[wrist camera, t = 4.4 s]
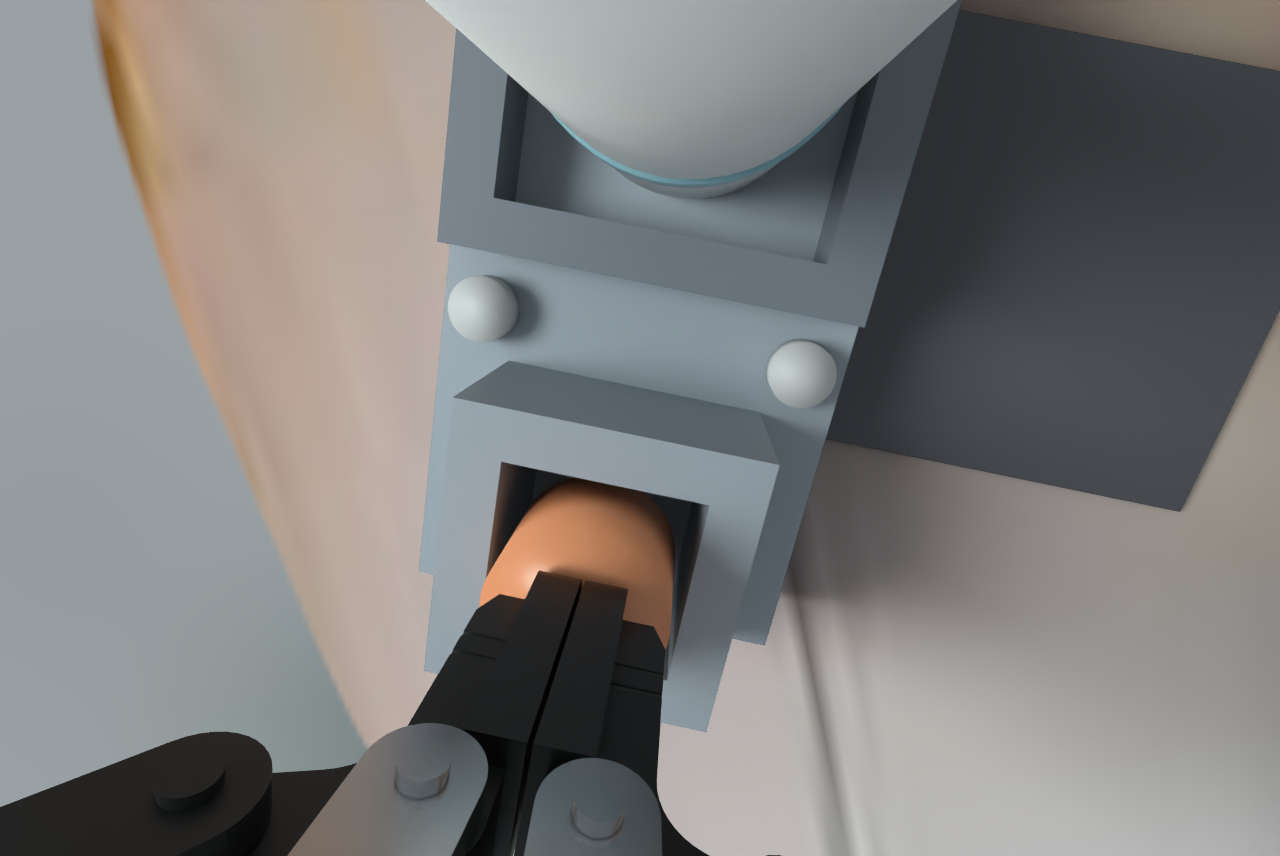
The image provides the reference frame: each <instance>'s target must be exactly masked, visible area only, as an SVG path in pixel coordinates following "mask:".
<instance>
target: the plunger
mask: <svg viewBox="0 0 1280 856" xmlns="http://www.w3.org/2000/svg"><path fill="white" fill-rule="evenodd" d="M674 561H675V544H674V537H673V534H672V530H671V527H670V525H669V523H668V521H667V519H666V517H665V515H664V514H663V512H662V511H661V509H660V508H659V507H658V506H657V504H656V503H655V502H654V501H653V500H652V499H651V498H650V497H649V496H647V495H646V494H645V493H643V492H642V491H638V490H634V489H629V488H624V487H619V486H615V485H610V484H605V483H600V482H595V481H591V480H586V479H581V478H576V477H575V478H570V479H567V480H564V481H562V482H559V483H557V484H555V485H553V486H551V487H550V488H548V489H547V490H546V491H544V492H543V493H542V494H541V495H539V496H538V497H537V498H536V499H535V501H534V502H533V503H532V504H531V506H530V507H529V509H528V510H527V512H526V513H525V515H524V517H523V518H522V520H521V522H520V523H519V525H518V526H517V528H516V530H515V531H514V533H513V535H512V536H511V538H510V540H509V541H508V543H507V544H506V546H505V548H504V549H503V551H502V553H501V554H500V556H499V557H498V559H497V561H496V562H495V564H494V566H493V567H492V569H491V571H490V572H489V574H488V576H487V578H486V580H485V582H484V585H483V588H482V591H481V596H480V602H479V607H481V606H482V605H484V604H485V603H487V602H488V601H490V600H491V599H493V598H494V597H496V596H497V595H499V594H503V595H507V596H512V597H517V598H521V599H525V598H526V596H527V594H528V592H529V590H530V587H531V585H532V583H533V581H534V579H535V577H536V575H537V573H538V571H539V570H540V571H545V572H550V573H554V574H559V575H564V576H569V577H573V578H578V579H582V587H581V592H582V589H583V586H584V583H585V580H588V581H593V582H598V583H602V584H607V585H612V586H617V587H621V588H626V589H628V593H627V598H626V604H625V609H624V614H623V620H626V621H630V622H635V623H640V624H645V625H649V626H654V628H655V630H656V632H657V634H658V636H659V638H660V640H661V642H662V644H663V646H664V648H665V651H666V647H667V644H668V641H669V636H670V629H671V612H672V595H673V578H674ZM580 595H581V593H580Z"/></svg>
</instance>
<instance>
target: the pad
mask: <svg viewBox="0 0 1280 856" xmlns="http://www.w3.org/2000/svg"><path fill="white" fill-rule="evenodd" d="M1279 310H1280V71H1277V70H1272V69H1266V68H1261V67H1256V66H1251V65H1245V64H1240V63H1235V62H1230V61H1224V60H1219V59H1214V58H1208V57H1203V56H1198V55H1193V54H1187V53H1182V52H1177V51H1172V50H1166V49H1161V48H1156V47H1150V46H1145V45H1140V44H1135V43H1129V42H1124V41H1119V40H1114V39H1108V38H1103V37H1098V36H1092V35H1087V34H1082V33H1077V32H1071V31H1066V30H1061V29H1056V28H1050V27H1045V26H1040V25H1034V24H1029V23H1024V22H1019V21H1013V20H1008V19H1003V18H997V17H992V16H987V15H982V14H976V13H971V12H966V11H961V10H959V12H958V16H957V19H956V22H955V26H954V29H953V32H952V36H951V39H950V42H949V46H948V49H947V52H946V56H945V59H944V63H943V66H942V69H941V73H940V76H939V79H938V83H937V86H936V89H935V93H934V96H933V100H932V103H931V106H930V110H929V113H928V116H927V120H926V123H925V126H924V130H923V133H922V137H921V140H920V143H919V147H918V150H917V153H916V157H915V160H914V163H913V167H912V170H911V174H910V177H909V180H908V184H907V187H906V190H905V194H904V197H903V200H902V204H901V207H900V210H899V214H898V217H897V221H896V224H895V227H894V231H893V234H892V237H891V241H890V244H889V247H888V251H887V254H886V258H885V261H884V264H883V268H882V271H881V274H880V278H879V281H878V284H877V288H876V291H875V295H874V298H873V301H872V305H871V308H870V311H869V315H868V318H867V321H866V325H865V328H863V327H858V331H857V334H856V337H855V341H854V344H853V348H852V351H851V354H850V358H849V361H848V365H847V368H846V371H845V375H844V378H843V382H842V385H841V388H840V392H839V395H838V399H837V402H836V405H835V409H834V412H833V416H832V419H831V422H830V426H829V429H828V432H827V436H826V439H829V440H834V441H839V442H844V443H849V444H854V445H859V446H863V447H868V448H873V449H878V450H883V451H888V452H892V453H897V454H902V455H907V456H912V457H917V458H922V459H926V460H931V461H936V462H941V463H946V464H951V465H956V466H960V467H965V468H970V469H975V470H980V471H985V472H989V473H994V474H999V475H1004V476H1009V477H1014V478H1019V479H1023V480H1028V481H1033V482H1038V483H1043V484H1048V485H1053V486H1057V487H1062V488H1067V489H1072V490H1077V491H1082V492H1086V493H1091V494H1096V495H1101V496H1106V497H1111V498H1116V499H1120V500H1125V501H1130V502H1135V503H1140V504H1145V505H1150V506H1154V507H1159V508H1164V509H1169V510H1174V511H1179V512H1180V511H1181V509H1182V507H1183V505H1184V503H1185V501H1186V499H1187V497H1188V495H1189V493H1190V491H1191V489H1192V487H1193V485H1194V483H1195V481H1196V479H1197V477H1198V475H1199V473H1200V470H1201V468H1202V466H1203V464H1204V462H1205V460H1206V458H1207V456H1208V454H1209V452H1210V450H1211V448H1212V446H1213V444H1214V442H1215V440H1216V438H1217V436H1218V434H1219V432H1220V430H1221V428H1222V426H1223V424H1224V422H1225V420H1226V418H1227V415H1228V413H1229V411H1230V409H1231V407H1232V405H1233V403H1234V401H1235V399H1236V397H1237V395H1238V393H1239V391H1240V389H1241V387H1242V385H1243V383H1244V381H1245V379H1246V377H1247V375H1248V373H1249V371H1250V369H1251V367H1252V365H1253V363H1254V361H1255V358H1256V356H1257V354H1258V352H1259V350H1260V348H1261V346H1262V344H1263V342H1264V340H1265V338H1266V336H1267V334H1268V332H1269V330H1270V328H1271V326H1272V324H1273V322H1274V320H1275V318H1276V316H1277V314H1278V312H1279Z"/></svg>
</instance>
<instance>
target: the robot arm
mask: <svg viewBox="0 0 1280 856" xmlns="http://www.w3.org/2000/svg"><path fill="white" fill-rule="evenodd" d="M581 587H582V579H578V578H573V577H569V576H564V575H559V574H554V573H550V572H545V571H540V570H539V571H538V573H537V575H536V577H535V579H534V581H533V583H532V585H531V587H530V590H529V592H528V594H527V596H526V598H525V599H521V598H517V597H512V596H507V595H503V594H499V595H497V596H496V597H494V598H493V599H491V600H490V601H488V602H487V603H485V604H484V605H482V606H481V607H479V608H478V609H476V611H475V612H474V614H473V616H472V618H471V619H470V621H469V623H468V624H467V626H466V628H465V629H464V632H463V635H461V636H460V638H459V640H458V641H457V643H456V645H455V646H454V648H453V651H452V654H450V655H449V657H448V658H447V660H446V662H445V663H444V665H443V667H442V669H441V670H440V672H439V674H438V675H437V677H436V679H435V680H434V682H433V684H432V685H431V687H430V689H429V691H428V692H427V694H426V696H425V697H424V699H423V701H422V702H421V704H420V706H419V708H418V709H417V711H416V713H415V714H414V716H413V718H412V719H411V721H410V723H409V725H408V726H406V727H403V728H400V729H397V730H395V731H393V732H391V733H388V734H387V735H385V736H384V737H382V738H380V739H379V740H378V741H376V742H375V743H374V744H373V745H372V746H370V748H369V749H368V750H367V751H366V752H365V753H364V754H363V756H362V757H361V759H360V760H359V761H358V763H355V764H352V765H349V766H344V767H340V768H335V769H326V770H313V771H297V772H282V773H272V760H271V758H270V755H269V753H268V751H267V750H266V748H265V747H264V746H263V745H262V744H261V743H259V742H258V741H257V740H255V739H253V738H251V737H249V736H246V735H242V734H238V733H230V732H209V733H201V734H196V735H192V736H187V737H184V738H181V739H178V740H175V741H172V742H169V743H166V744H164V745H161V746H159V747H156V748H154V749H151V750H148V751H146V752H143V753H140V754H138V755H135V756H133V757H130V758H127V759H125V760H122V761H120V762H117V763H114V764H112V765H109V766H107V767H104V768H101V769H99V770H96V771H93V772H91V773H88V774H86V775H83V776H80V777H78V778H75V779H73V780H70V781H68V782H65V783H62V784H60V785H57V786H55V787H52V788H49V789H46V790H44V791H41V792H39V793H36V794H33V795H31V796H28V797H26V798H23V799H21V800H18V801H15V802H13V803H10V804H7V805H5V806H2V807H0V856H513V854H514V856H709V855H707V854H705V853H704V852H702V851H701V850H699V849H697V848H696V847H694V846H693V845H692V844H691V843H689V842H688V841H687V840H686V839H685V838H683V837H682V835H681V834H680V833H679V832H678V831H677V830H676V829H675V828H674V827H673V825H672V824H671V822H670V821H669V820H668V818H667V816H666V814H665V813H664V811H663V809H662V806H661V803H660V801H659V797H658V792H657V766H658V751H659V736H660V721H661V707H662V692H663V674H664V662H665V648H664V646H663V644H662V642H661V640H660V638H659V636H658V634H657V632H656V630H655V628H654V626H649V625H645V624H640V623H635V622H630V621H626V620H623V614H624V609H625V604H626V598H627V593H628V589H626V588H621V587H617V586H612V585H607V584H602V583H598V582H593V581H588V580H585V583H584V586H583V589H582V592H581ZM580 593H581V595H580ZM514 851H515V853H514ZM768 856H780V855H768Z"/></svg>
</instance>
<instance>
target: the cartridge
mask: <svg viewBox="0 0 1280 856" xmlns="http://www.w3.org/2000/svg"><path fill="white" fill-rule="evenodd" d="M425 1H427V2H428V3H429V4H430V5H431V6H432V7H433V8H434V9H436V10H437V11H438V12H439V13H440V14H441V15H442V16H443V17H445V18H446V19H447V20H448V21H449V22H450V23H451V24H452V25H454V26H455V27H456V28H457V29H458V30H459V31H460V32H461V33H463V34H464V35H465V36H466V37H467V38H468V39H469V40H470V41H471V42H473V43H474V44H475V45H476V46H477V47H478V48H479V49H480V50H482V51H483V52H484V53H485V54H486V55H487V56H488V57H489V58H491V59H492V60H493V61H494V62H495V63H496V64H497V65H498V66H500V67H501V68H502V69H503V70H504V71H505V72H506V73H507V74H509V75H510V76H511V77H512V78H513V79H514V80H515V81H516V82H517V83H519V84H520V85H521V86H522V87H523V88H524V89H525V90H526V91H528V92H529V93H530V94H531V95H532V96H533V97H534V98H535V99H537V100H538V101H539V102H540V103H541V104H542V105H543V106H544V107H546V108H547V109H548V110H549V111H550V112H551V113H552V115H553V116H554V117H555V119H556V120H557V121H558V122H559V123H560V124H561V125H562V126H563V127H564V128H565V129H566V130H567V131H568V132H569V133H570V134H571V135H572V136H573V137H574V138H575V139H576V140H577V141H578V142H579V143H581V144H582V145H583V146H584V147H586V148H587V149H588V150H589V151H591V152H592V153H593V154H594V155H596V156H597V157H598V158H599V159H601V160H602V161H604V162H606V163H607V164H609V165H611V166H612V167H613V168H614V169H615V170H616V171H618V172H619V173H620V174H621V175H623V176H624V177H625V178H626V179H628V180H630V181H631V182H633V183H635V184H636V185H638V186H640V187H642V188H644V189H647V190H649V191H651V192H654V193H657V194H661V195H664V196H668V197H674V198H681V199H703V198H710V197H716V196H720V195H724V194H727V193H730V192H733V191H736V190H738V189H740V188H742V187H745V186H747V185H749V184H751V183H752V182H754V181H755V180H757V179H759V178H760V177H762V176H763V175H765V174H766V173H767V172H768V171H770V170H771V169H772V168H773V167H775V166H776V165H777V164H778V163H779V162H780V161H782V160H783V159H785V158H787V157H788V156H790V155H791V154H792V153H793V152H795V151H796V150H797V149H798V148H800V147H801V146H802V145H803V144H805V143H806V142H807V141H808V140H810V139H811V138H812V137H813V136H814V135H815V134H816V133H818V132H819V131H820V130H821V129H822V128H823V127H824V126H825V125H826V124H827V123H828V122H829V120H830V119H831V118H832V117H833V116H834V115H835V114H836V113H837V112H838V111H839V110H840V109H841V107H842V106H843V105H844V103H845V102H846V101H847V100H848V99H849V98H851V97H852V96H853V95H854V94H855V93H856V92H857V91H858V90H859V89H860V88H861V87H863V86H864V85H865V84H866V83H867V82H868V81H869V80H870V79H871V78H872V77H874V76H875V75H876V74H877V73H878V72H879V71H880V70H881V69H882V68H883V67H885V66H886V65H887V64H888V63H889V62H890V61H891V60H892V59H893V58H894V57H896V56H897V55H898V54H899V53H900V52H901V51H902V50H903V49H904V48H905V47H907V46H908V45H909V44H910V43H911V42H912V41H913V40H914V39H915V38H916V37H918V36H919V35H920V34H921V33H922V32H923V31H924V30H925V29H926V28H927V27H928V26H930V25H931V24H932V23H933V22H934V21H935V20H936V19H937V18H938V17H939V16H941V15H942V14H943V13H944V12H945V11H946V10H947V9H948V8H949V7H950V6H952V5H953V4H954V3H955V2H956V1H957V0H425Z"/></svg>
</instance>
